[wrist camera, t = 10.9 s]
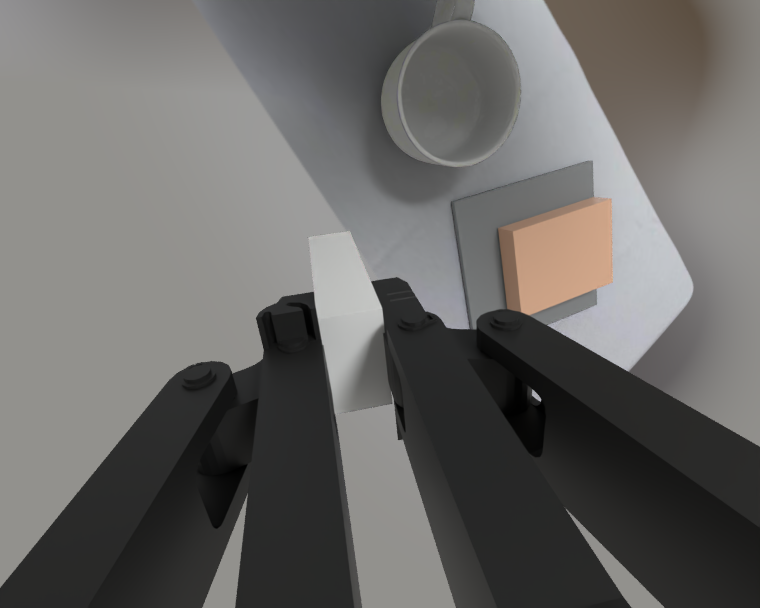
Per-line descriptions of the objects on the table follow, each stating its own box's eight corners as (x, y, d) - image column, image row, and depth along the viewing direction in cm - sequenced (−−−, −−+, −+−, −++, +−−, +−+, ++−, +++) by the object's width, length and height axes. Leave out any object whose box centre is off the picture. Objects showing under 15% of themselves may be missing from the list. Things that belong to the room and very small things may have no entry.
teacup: (456, 175, 45) (503, 178, 38) (357, 153, 41) (388, 151, 34) (489, 25, 42) (547, -2, 35) (384, -16, 38) (426, -56, 31)
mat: (451, 201, 46) (454, 202, 45) (588, 160, 51) (592, 160, 50) (473, 351, 53) (476, 353, 52) (593, 303, 57) (596, 304, 57)
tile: (513, 231, 46) (611, 198, 49) (496, 227, 48) (591, 196, 51) (521, 318, 49) (612, 282, 53) (505, 310, 52) (593, 276, 55)
